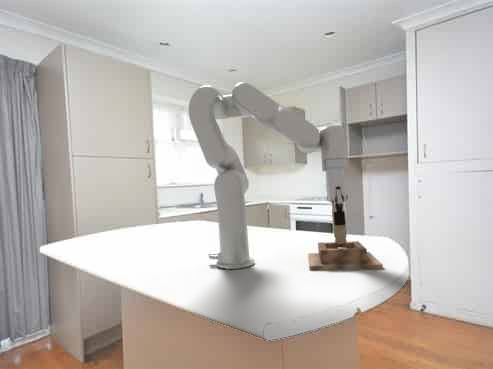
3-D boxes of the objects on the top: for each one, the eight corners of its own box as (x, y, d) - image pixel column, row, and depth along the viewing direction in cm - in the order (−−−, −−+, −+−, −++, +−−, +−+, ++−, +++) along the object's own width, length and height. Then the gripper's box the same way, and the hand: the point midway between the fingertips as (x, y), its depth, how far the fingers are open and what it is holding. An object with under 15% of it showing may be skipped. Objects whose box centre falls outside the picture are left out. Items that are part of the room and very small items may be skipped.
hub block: (309, 270, 84) (308, 251, 84) (308, 256, 100) (307, 241, 100) (382, 269, 80) (381, 249, 80) (369, 255, 96) (368, 238, 96)
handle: (349, 245, 86) (345, 195, 87) (328, 244, 90) (324, 196, 90) (353, 242, 90) (349, 194, 91) (333, 241, 94) (329, 195, 94)
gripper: (320, 168, 99) (324, 221, 99) (324, 164, 83) (329, 228, 83) (342, 166, 98) (347, 220, 98) (351, 162, 82) (356, 227, 81)
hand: (339, 223), depth 90 cm, fingers closed on handle, 3 cm apart
